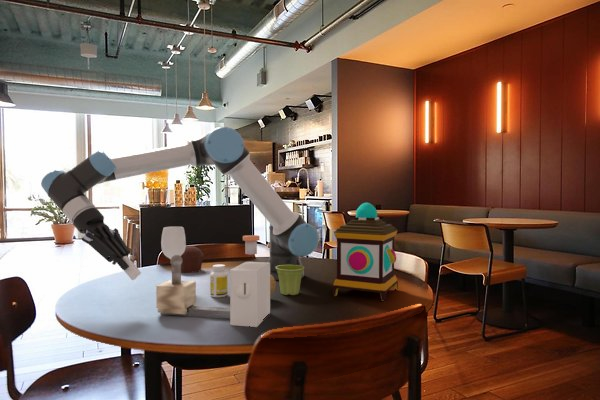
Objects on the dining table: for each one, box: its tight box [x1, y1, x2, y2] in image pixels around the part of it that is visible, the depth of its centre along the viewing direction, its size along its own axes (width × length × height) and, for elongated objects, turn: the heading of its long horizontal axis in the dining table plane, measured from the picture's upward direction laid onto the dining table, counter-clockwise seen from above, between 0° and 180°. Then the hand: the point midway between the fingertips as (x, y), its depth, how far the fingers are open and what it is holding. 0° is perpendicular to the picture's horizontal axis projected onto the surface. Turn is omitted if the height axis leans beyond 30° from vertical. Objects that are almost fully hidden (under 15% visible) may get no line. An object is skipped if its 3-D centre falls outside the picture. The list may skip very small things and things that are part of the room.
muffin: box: [181, 245, 205, 274], centre depth 172 cm, size 12×11×10 cm
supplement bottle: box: [209, 263, 228, 298], centre depth 132 cm, size 5×5×10 cm
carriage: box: [155, 255, 197, 314], centre depth 113 cm, size 8×7×15 cm
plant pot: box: [276, 265, 305, 296], centre depth 135 cm, size 9×9×9 cm
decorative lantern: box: [332, 202, 399, 301], centre depth 136 cm, size 20×20×30 cm
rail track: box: [160, 305, 230, 320], centre depth 112 cm, size 22×3×2 cm, turn 78°
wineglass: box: [160, 226, 187, 260], centre depth 142 cm, size 9×9×21 cm
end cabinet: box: [229, 261, 271, 328], centre depth 108 cm, size 7×13×14 cm, turn 168°
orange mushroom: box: [242, 234, 260, 255], centre depth 108 cm, size 4×4×5 cm
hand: (136, 276), depth 114 cm, fingers closed
